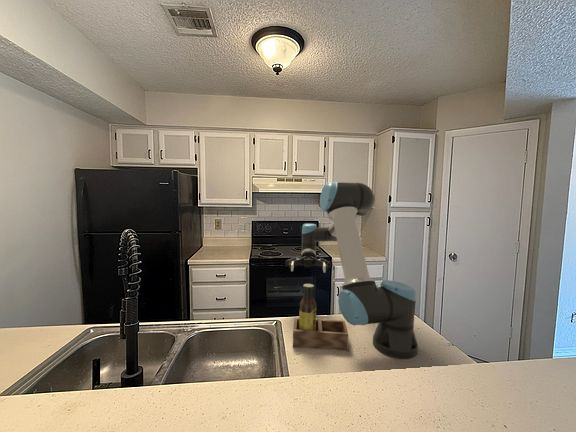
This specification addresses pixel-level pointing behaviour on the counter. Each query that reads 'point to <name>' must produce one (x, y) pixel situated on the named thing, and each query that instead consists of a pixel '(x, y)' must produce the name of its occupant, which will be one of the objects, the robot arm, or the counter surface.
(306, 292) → the sauce bottle
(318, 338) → the wooden divided box
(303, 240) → the robot arm
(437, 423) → the counter surface
